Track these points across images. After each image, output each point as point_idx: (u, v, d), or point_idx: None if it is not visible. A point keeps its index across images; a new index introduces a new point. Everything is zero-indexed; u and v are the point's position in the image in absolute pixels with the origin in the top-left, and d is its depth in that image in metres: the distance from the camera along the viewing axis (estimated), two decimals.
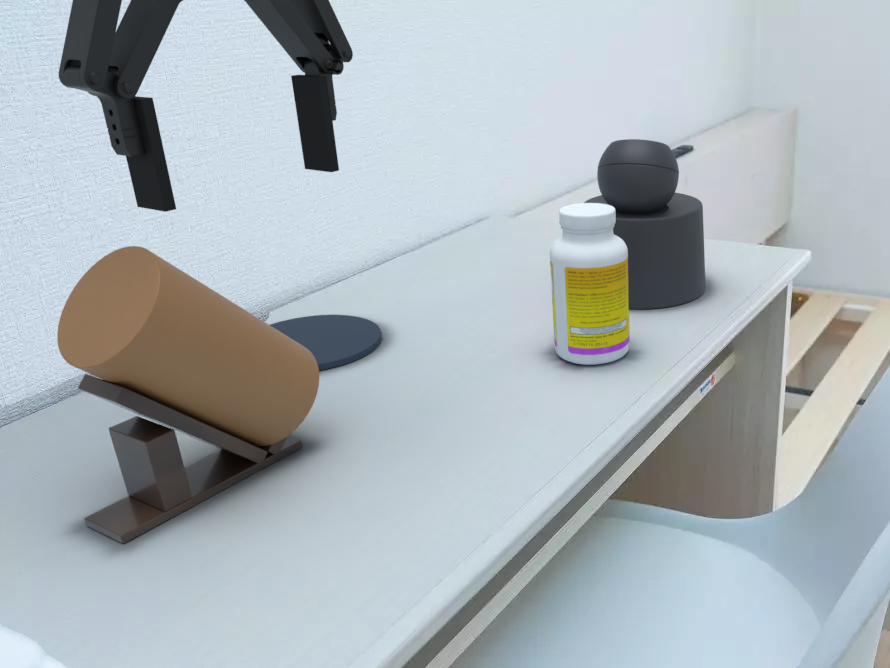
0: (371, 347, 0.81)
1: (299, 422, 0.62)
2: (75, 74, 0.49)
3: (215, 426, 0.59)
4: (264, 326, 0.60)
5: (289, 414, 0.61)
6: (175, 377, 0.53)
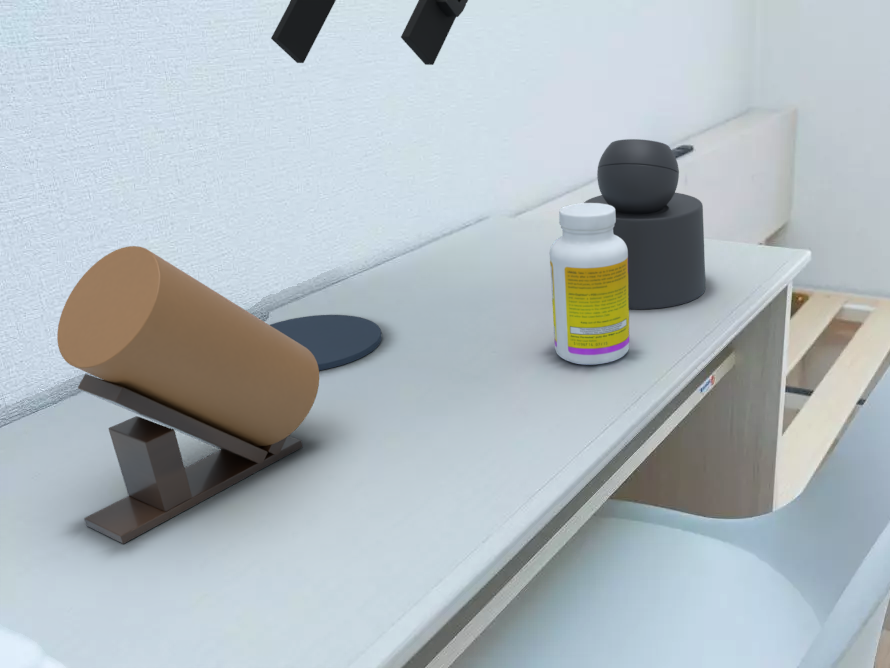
0: (371, 347, 0.81)
1: (299, 422, 0.62)
2: None
3: (215, 426, 0.59)
4: (264, 326, 0.60)
5: (289, 414, 0.61)
6: (175, 377, 0.53)
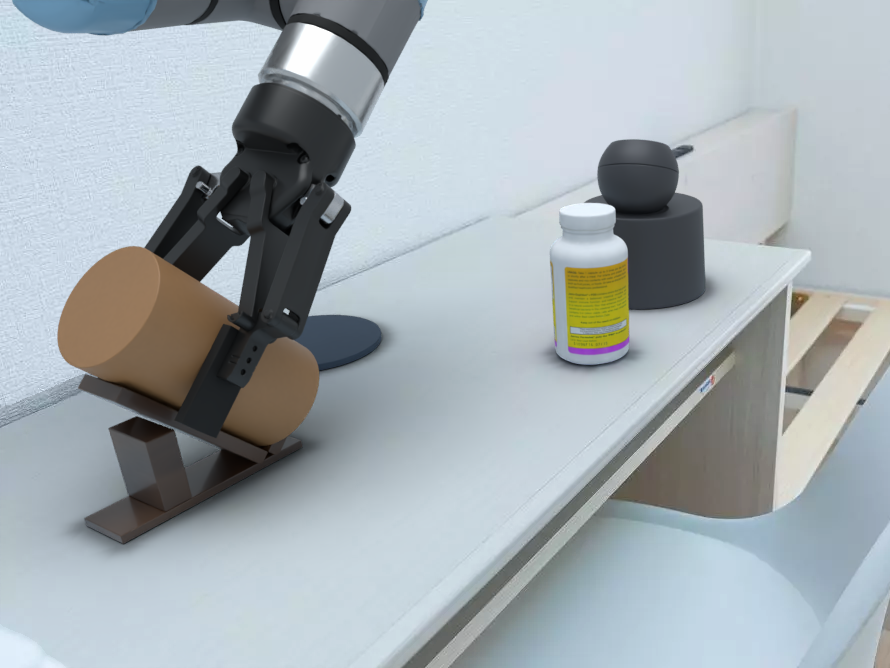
0: (371, 347, 0.81)
1: (299, 422, 0.62)
2: (293, 326, 0.55)
3: None
4: None
5: (289, 414, 0.61)
6: (175, 377, 0.53)
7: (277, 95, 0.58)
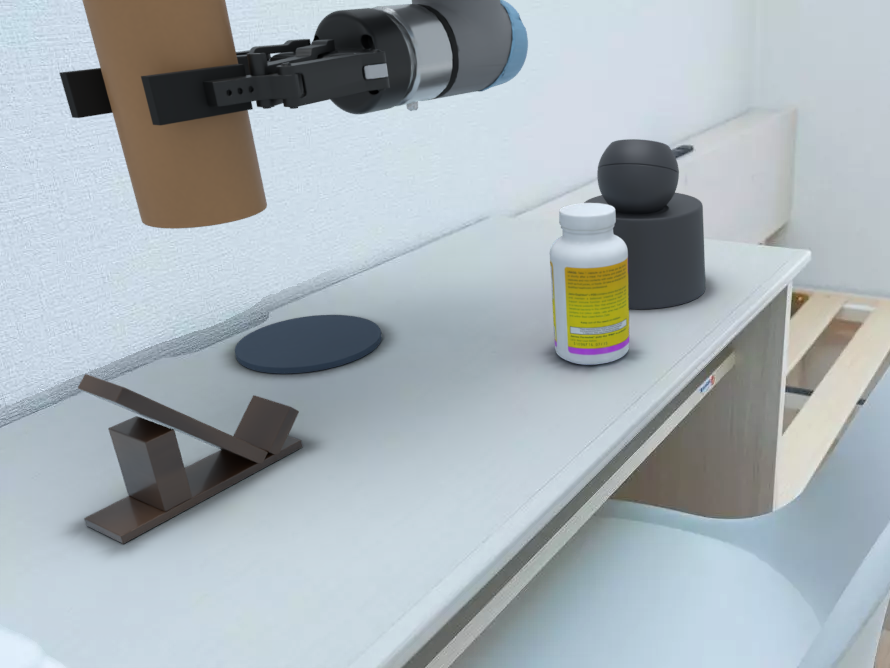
0: (371, 347, 0.81)
1: (221, 220, 0.58)
2: (298, 92, 0.56)
3: (146, 163, 0.56)
4: None
5: (220, 202, 0.57)
6: (166, 59, 0.53)
7: (374, 12, 0.68)
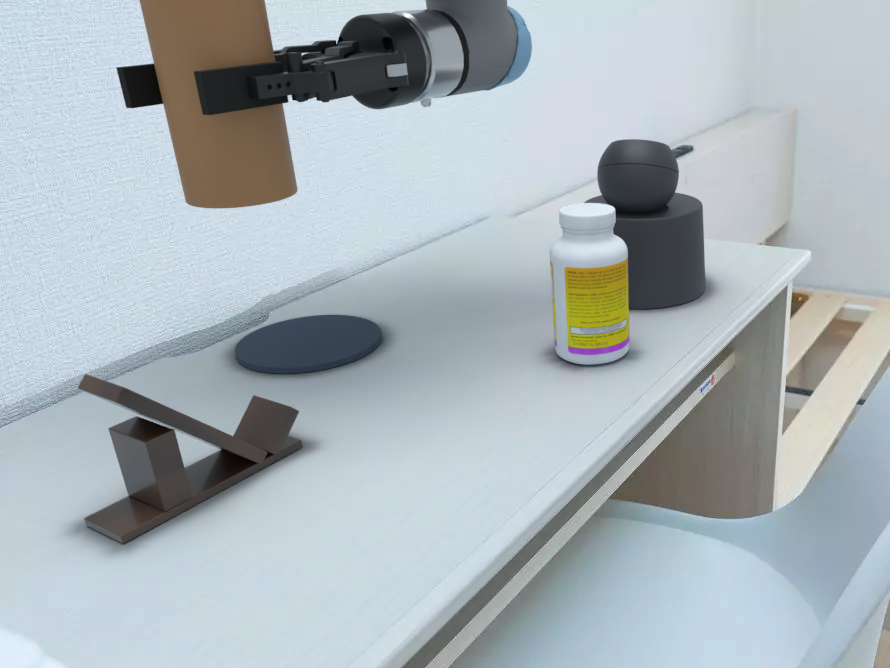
0: (371, 347, 0.81)
1: (258, 202, 0.65)
2: (329, 87, 0.63)
3: (193, 149, 0.62)
4: (285, 121, 0.67)
5: (258, 185, 0.64)
6: (214, 57, 0.60)
7: (394, 16, 0.75)
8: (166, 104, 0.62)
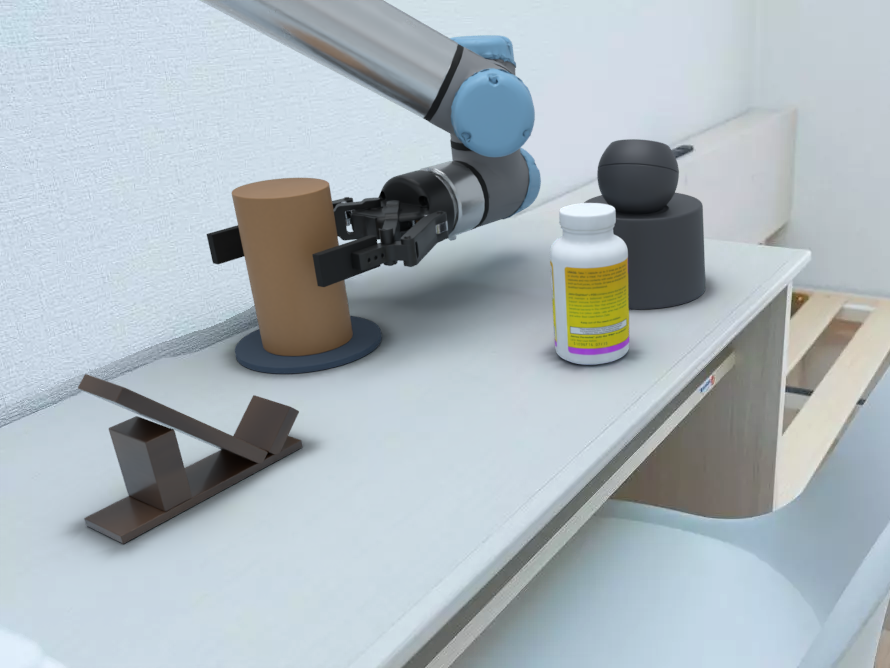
0: (371, 347, 0.81)
1: (324, 350, 0.79)
2: (415, 255, 0.78)
3: (273, 311, 0.77)
4: None
5: (324, 337, 0.79)
6: (293, 243, 0.75)
7: (428, 175, 0.89)
8: (251, 276, 0.77)
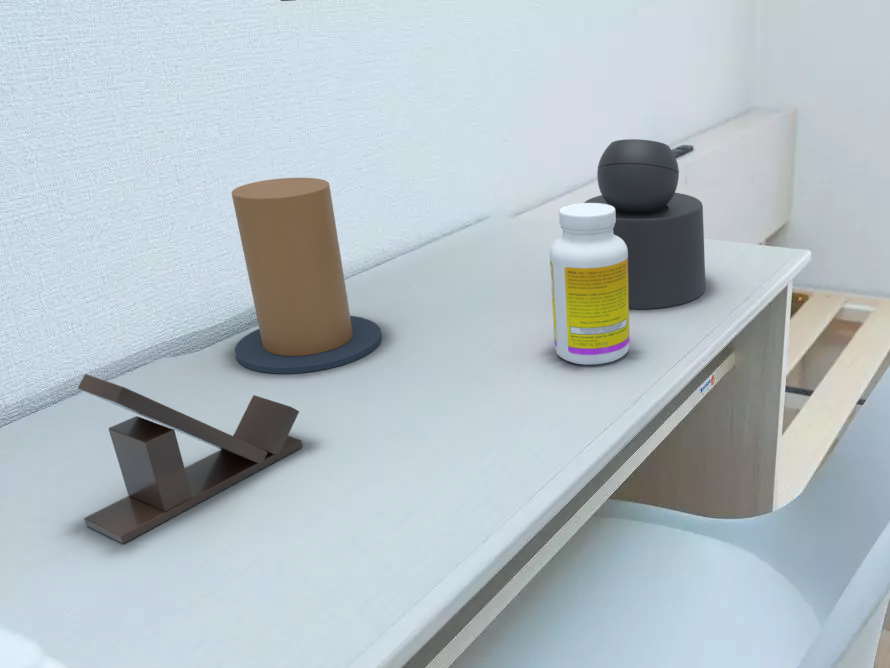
0: (371, 347, 0.81)
1: (324, 350, 0.79)
2: None
3: (273, 311, 0.77)
4: None
5: (324, 337, 0.79)
6: (293, 243, 0.75)
7: None
8: (251, 276, 0.77)
